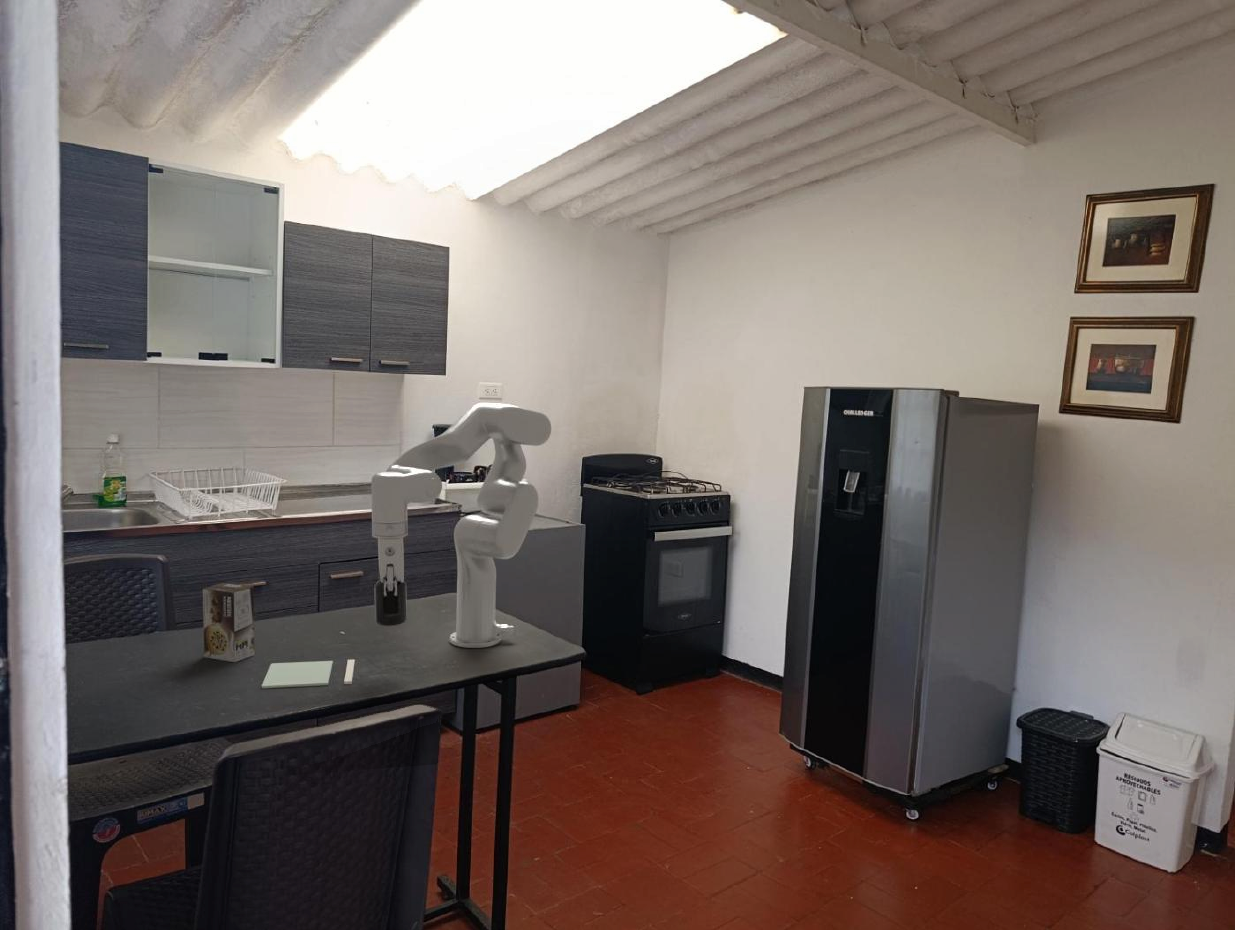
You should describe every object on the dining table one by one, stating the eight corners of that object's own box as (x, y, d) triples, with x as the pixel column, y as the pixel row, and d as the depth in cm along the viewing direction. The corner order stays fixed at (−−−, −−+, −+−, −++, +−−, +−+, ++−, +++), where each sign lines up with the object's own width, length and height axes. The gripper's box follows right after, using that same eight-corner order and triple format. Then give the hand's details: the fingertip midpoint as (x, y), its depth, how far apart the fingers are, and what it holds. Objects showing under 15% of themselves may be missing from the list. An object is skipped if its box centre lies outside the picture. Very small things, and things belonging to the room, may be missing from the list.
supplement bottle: (411, 618, 190) (410, 566, 189) (400, 627, 184) (399, 573, 182) (381, 616, 191) (381, 564, 189) (369, 626, 184) (369, 572, 183)
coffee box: (255, 654, 195) (255, 586, 193) (234, 663, 189) (234, 592, 187) (224, 649, 198) (223, 581, 196) (202, 657, 192) (201, 587, 190)
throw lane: (354, 662, 193) (354, 659, 193) (351, 683, 179) (351, 681, 179) (271, 665, 188) (271, 663, 188) (261, 688, 175) (261, 685, 175)
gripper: (408, 536, 177) (408, 619, 180) (407, 520, 194) (407, 596, 196) (370, 537, 175) (372, 621, 178) (373, 521, 192) (374, 598, 194)
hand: (390, 607), depth 187 cm, fingers closed on supplement bottle, 6 cm apart
